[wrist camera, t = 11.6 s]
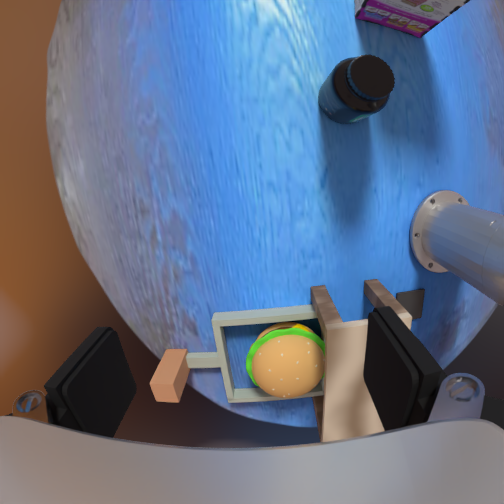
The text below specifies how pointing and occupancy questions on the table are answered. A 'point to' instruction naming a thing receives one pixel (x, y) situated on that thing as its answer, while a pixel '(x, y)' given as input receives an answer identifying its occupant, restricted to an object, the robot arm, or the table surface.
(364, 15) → the candy bar box
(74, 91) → the table surface
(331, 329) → the tunnel
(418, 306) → the pit square
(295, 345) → the hamburger
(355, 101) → the supplement bottle
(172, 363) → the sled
